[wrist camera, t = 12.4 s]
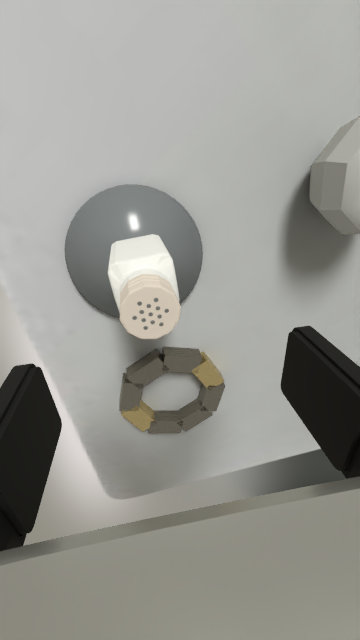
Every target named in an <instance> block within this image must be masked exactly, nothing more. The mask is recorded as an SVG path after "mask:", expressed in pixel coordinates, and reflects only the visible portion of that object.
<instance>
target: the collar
mask: <svg viewBox="0 0 360 640" xmlns="http://www.w3.org/2000/svg"><path fill="white" fill-rule="evenodd" d="M165 372H177V373H194V374H195V376H196V377H197V378H198V379H199V380H200V381H201V382H202V386H201V389H200V392H199V396H198V399H196V400H194V401H193V402H191V403H189V404H188V405H186V406H185V407H183V408H181V409H180V410H178V411H153V410H152V409H151V408H150V407H149V406H147V405H146V404H145V403H144V402H143V401H142V400H141V394H142V389H143V387H144V386H145V385H147V384H148V383H150V382H151V381H153V380H154V379H156V378H158V377H159V376H161V375H162V374H164V373H165ZM224 388H225V385H224V379H223V377H222V375H221V373H220V372H219V370H218V369H217V368H216V366H215V365H214V364H213V363H212V361H211V360H210V359H209V358H208V356H207V355H206V354H205V353H204V352H202V353H201V354H200V352H199V349H189V348H174V347H163V349H162V354H161V353H160V352H159V351H158V350H157V349H155V350H153V351H152V352H150V353H149V354H147V355H146V356H144V357H143V358H141V359H140V360H138V361H137V362H135V363H134V364H132V365H131V366H129V367H128V368H127V373H123V379H122V386H121V394H120V410H119V411H121V415H122V416H123V417H124V418H126V419H127V420H128V421H130V422H131V423H132V424H133V425H135V426H136V427H137V428H139V429H140V430H141V431H142V432H144V431H145V430H147V429H148V433H180V432H181V428H183V429H184V430H185V431H187V430H189V429H190V428H192V427H194V426H195V425H197V424H199V423H200V422H202V421H203V420H205V419H207V418H208V417H210V416H212V412H211V411H216V410H217V407H218V404H219V402H220V399H221V396H222V393H223V391H224Z"/></svg>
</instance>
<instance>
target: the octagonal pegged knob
mask: <svg viewBox="0 0 360 640" xmlns="http://www.w3.org/2000/svg"><path fill="white" fill-rule="evenodd" d="M309 197H310V201H311V203H312V204H313V205H314V206H315V208H316V209H317V210H318V211H319V212H320V213H321V214H322V215H323V216H324V217H325V219H326V220H327V221H328V222H329V223H330V224H331V225H332V226H333V227H335V228H336V229H337V230H338V231H339V232H340V233H341V234H342V235H349V234H358V233H360V116H359V117H357V118H356V119H354V120H352V121H351V122H349V123H348V124H346V125H344V126H343V127H341V128H340V129H339V130H338V131H337V133H336V134H335V135H334V137H333V138H332V139H331V141H330V142H329V143H328V145H327V146H326V147H325V149H324V150H323V151H322V153H321V154H320V155H319V157H318V158H317V159H316V161H315V162H314V163H313V165H312V166H311V176H310V190H309Z"/></svg>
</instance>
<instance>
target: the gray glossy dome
mask: <svg viewBox="0 0 360 640" xmlns="http://www.w3.org/2000/svg"><path fill="white" fill-rule="evenodd" d="M151 234H154V235H159V237H160V238H161V240H162V242H163V243H164V245H165V247H166V249H167V250H168V252H169V254H170V256H171V258H172V259H173V263H174V269H175V274H176V280H177V286H178V292H179V300H180V301H179V304H180V303H181V302H182V301H183V300H184V299H185V298H186V297H187V295H188V294H189V293H190V292H191V290H192V289H193V287H194V285H195V283H196V281H197V279H198V277H199V273H200V270H201V265H202V254H203V253H202V243H201V238H200V234H199V232H198V229H197V227H196V225H195V223H194V221H193V219H192V217H191V216H190V215H189V213H188V212H187V211H186V209H185V208H184V207H183V206H182V205H181V204H180V203H178V202H177V201H176V200H175V199H174V198H172V197H170V196H169V195H167V194H166V193H164V192H162V191H159V190H157V189H154V188H151V187H148V186H142V185H121V186H116V187H112V188H109V189H106V190H104V191H102V192H100V193H98V194H96V195H95V196H94V197H92V198H91V199H89V200H88V201H87V202H86V203H85V204H84V205H83V206H82V207H81V208H80V210H79V211H78V212H77V213H76V215H75V217H74V218H73V220H72V222H71V224H70V227H69V229H68V232H67V236H66V242H65V259H66V264H67V269H68V272H69V274H70V277H71V279H72V281H73V283H74V285H75V286H76V288H77V289H78V291H79V292H80V293H81V294H82V296H83V297H84V298H85V299H86V300H87V301H88V302H90V303H91V304H92V305H93V306H95V307H96V308H98V309H99V310H101V311H103V312H105V313H107V314H110V315H112V316H116V317H119V318H120V313H119V310H118V307H117V304H116V301H115V298H114V294H113V291H112V288H111V284H110V280H109V277H108V267H109V260H110V252H111V245H112V244H113V243H115V242H116V241H120V240H125V239H131V238H136V237H141V236H146V235H151Z"/></svg>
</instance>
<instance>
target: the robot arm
mask: <svg viewBox="0 0 360 640" xmlns="http://www.w3.org/2000/svg"><path fill="white" fill-rule="evenodd" d="M281 390H282V392H283V394H284V395H285V397H286V398H287V400H288V401H289V403H290V404H291V406H292V407H293V408H294V410H295V411H296V413H297V414H298V416H299V417H300V419H301V420H302V421H303V423H304V424H305V426H306V427H307V429H308V430H309V431H310V433H311V434H312V436H313V437H314V439H315V440H316V442H317V443H318V444H319V446H320V447H321V449H322V450H323V452H324V453H325V454H326V456H327V457H328V459H329V460H330V462H331V463H332V464H333V466H334V467H335V468H336V469H337V470H339V471H340V470H341V471H342V473H343V474H344V475H345V477H346V478H347V479H343V480H338V481H333V482H328V483H323V484H318V485H313V486H308V487H303V488H298V489H293V490H288V491H283V492H278V493H273V494H268V495H263V496H258V497H253V498H248V499H244V500H238V501H234V502H228V503H223V504H218V505H213V506H209V507H204V508H199V509H194V510H189V511H185V512H180V513H175V514H170V515H165V516H160V517H155V518H151V519H146V520H141V521H137V522H132V523H127V524H122V525H117V526H112V527H108V528H103V529H98V530H94V531H89V532H84V533H79V534H75V535H70V536H65V537H61V538H56V539H52V540H48V541H43V542H40V543H34V544H30V545H26V546H23V544H24V541H25V537H26V534H27V533H30V532H31V531H32V529H33V527H34V524H35V520H36V516H37V513H38V510H39V506H40V502H41V498H42V495H43V492H44V488H45V485H46V481H47V478H48V474H49V471H50V467H51V464H52V460H53V457H54V453H55V450H56V446H57V443H58V439H59V436H60V432H61V427H62V423H61V418H60V416H59V413H58V411H57V408H56V406H55V403H54V400H53V398H52V395H51V393H50V390H49V388H48V385H47V382H46V380H45V377H44V375H43V372H42V370H41V368H40V367H36V366H35V365H34V364H26V365H19V366H15V367H13V369H12V370H11V372H10V373H9V375H8V377H7V378H6V380H5V381H4V383H3V384H2V386H1V388H0V640H360V367H359V366H358V365H356V364H355V363H354V362H353V361H352V360H350V359H349V358H348V357H347V356H346V355H345V354H343V353H342V352H341V351H340V350H339V349H337V348H336V347H335V346H334V345H333V344H331V343H330V342H329V341H328V340H327V339H325V338H324V337H323V336H322V335H321V334H319V333H318V332H317V331H316V330H315V329H313V328H312V327H311V326H304V327H297V328H294V329H293V330H292V332H290V333H289V336H288V342H287V348H286V354H285V361H284V367H283V373H282V380H281Z"/></svg>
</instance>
